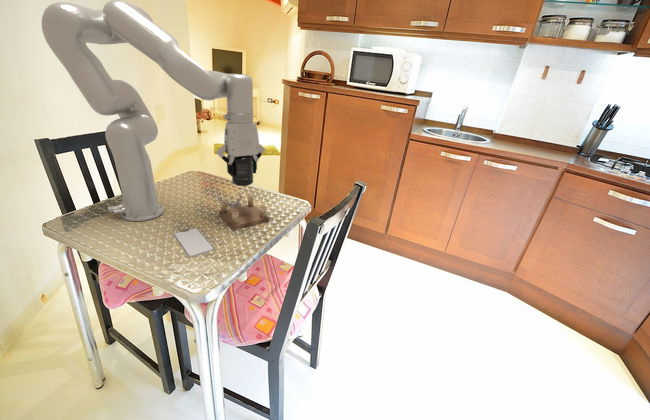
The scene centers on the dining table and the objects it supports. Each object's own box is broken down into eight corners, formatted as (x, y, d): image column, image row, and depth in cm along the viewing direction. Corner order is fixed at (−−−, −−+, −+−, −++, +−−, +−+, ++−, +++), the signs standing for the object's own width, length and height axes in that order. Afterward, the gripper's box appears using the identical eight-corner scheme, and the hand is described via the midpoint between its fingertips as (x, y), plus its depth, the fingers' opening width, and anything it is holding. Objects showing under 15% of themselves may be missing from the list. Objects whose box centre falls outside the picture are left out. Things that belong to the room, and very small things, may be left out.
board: (233, 230, 96) (232, 215, 93) (218, 214, 105) (217, 200, 102) (269, 221, 103) (269, 207, 101) (252, 207, 112) (252, 194, 110)
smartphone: (189, 257, 80) (172, 233, 90) (189, 259, 81) (172, 235, 91) (215, 249, 85) (197, 227, 95) (215, 250, 85) (197, 229, 95)
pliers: (236, 190, 125) (259, 207, 112) (236, 192, 125) (259, 209, 112) (213, 194, 119) (235, 213, 106) (214, 196, 119) (235, 215, 106)
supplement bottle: (257, 181, 100) (256, 147, 95) (245, 187, 94) (244, 151, 89) (240, 177, 102) (239, 143, 97) (227, 183, 97) (225, 147, 91)
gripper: (216, 121, 82) (220, 181, 89) (271, 119, 92) (271, 173, 100) (207, 116, 87) (212, 173, 95) (260, 116, 97) (261, 167, 105)
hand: (242, 173), depth 97 cm, fingers closed on supplement bottle, 6 cm apart
